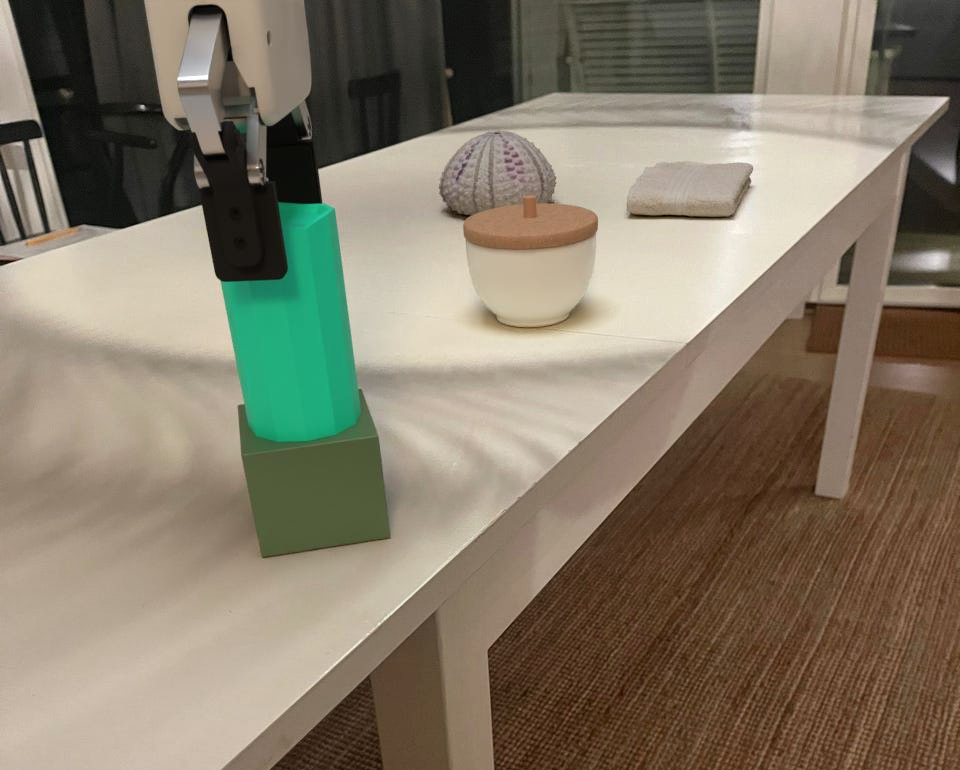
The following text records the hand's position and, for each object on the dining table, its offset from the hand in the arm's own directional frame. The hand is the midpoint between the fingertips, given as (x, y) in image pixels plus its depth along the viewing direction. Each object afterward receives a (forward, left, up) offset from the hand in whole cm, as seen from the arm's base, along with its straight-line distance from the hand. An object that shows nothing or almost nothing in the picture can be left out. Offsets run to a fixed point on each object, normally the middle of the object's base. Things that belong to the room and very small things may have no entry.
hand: (275, 249), depth 50 cm
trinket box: (+12, +35, -15) cm, 40 cm away
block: (0, 0, -15) cm, 15 cm away
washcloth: (+30, +74, -15) cm, 81 cm away
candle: (0, 0, -9) cm, 9 cm away
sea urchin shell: (+8, +75, -15) cm, 77 cm away
